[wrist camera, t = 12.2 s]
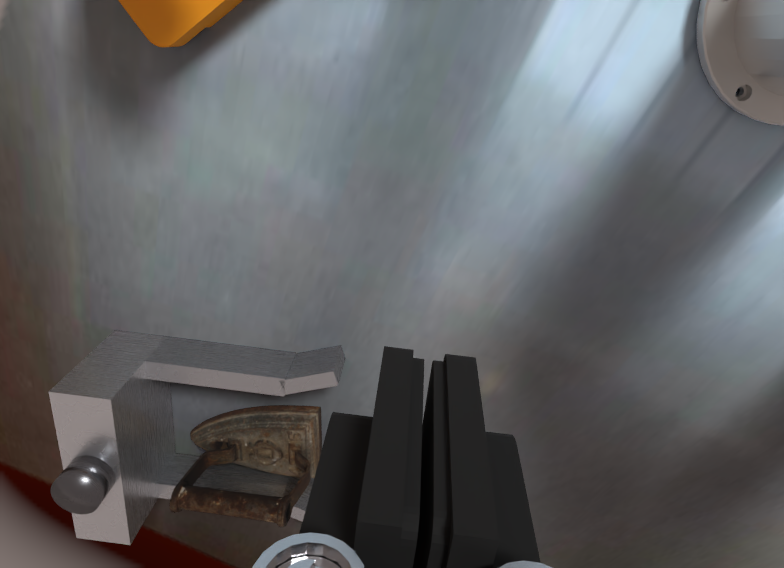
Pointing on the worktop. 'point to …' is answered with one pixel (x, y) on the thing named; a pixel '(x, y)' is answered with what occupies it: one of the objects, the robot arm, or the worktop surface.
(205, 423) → the clothes iron
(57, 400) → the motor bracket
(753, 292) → the worktop surface
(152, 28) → the bracket
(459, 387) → the robot arm
